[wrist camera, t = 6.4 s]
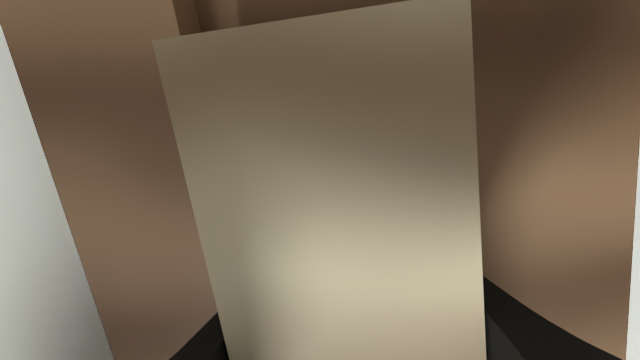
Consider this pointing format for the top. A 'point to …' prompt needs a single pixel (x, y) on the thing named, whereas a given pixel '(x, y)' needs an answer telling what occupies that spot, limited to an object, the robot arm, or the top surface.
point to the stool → (336, 181)
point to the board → (492, 150)
